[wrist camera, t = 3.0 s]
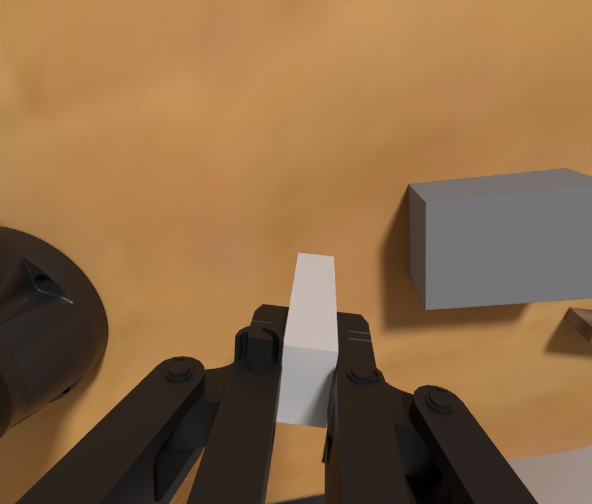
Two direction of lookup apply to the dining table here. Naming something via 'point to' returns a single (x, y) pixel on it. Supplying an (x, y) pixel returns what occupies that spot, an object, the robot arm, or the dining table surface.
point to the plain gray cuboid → (501, 239)
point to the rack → (581, 321)
